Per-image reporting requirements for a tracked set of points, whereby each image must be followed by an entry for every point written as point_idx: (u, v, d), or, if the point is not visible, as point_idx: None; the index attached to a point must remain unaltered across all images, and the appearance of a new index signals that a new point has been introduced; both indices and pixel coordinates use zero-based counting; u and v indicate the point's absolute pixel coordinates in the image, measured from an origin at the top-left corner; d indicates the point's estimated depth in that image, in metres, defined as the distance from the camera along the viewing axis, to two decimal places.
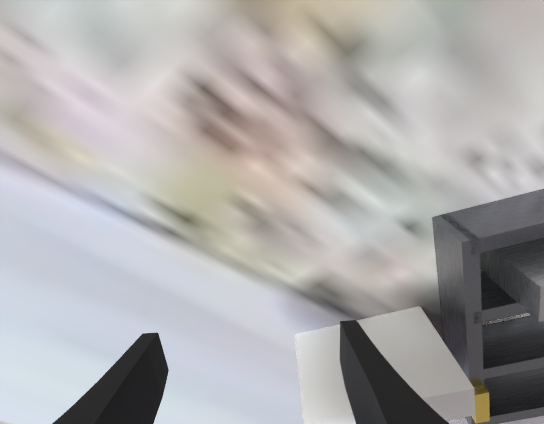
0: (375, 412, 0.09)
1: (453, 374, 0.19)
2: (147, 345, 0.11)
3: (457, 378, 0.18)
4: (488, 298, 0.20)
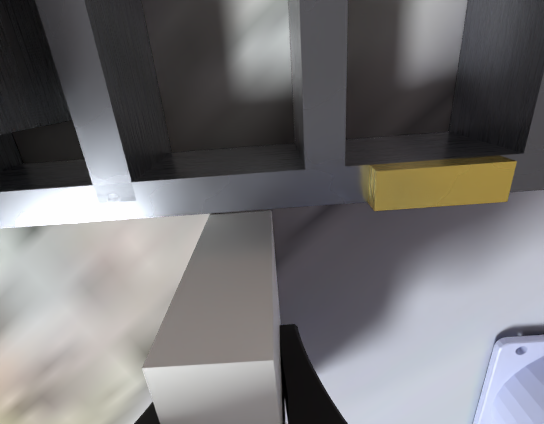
0: None
1: None
2: None
3: None
4: None
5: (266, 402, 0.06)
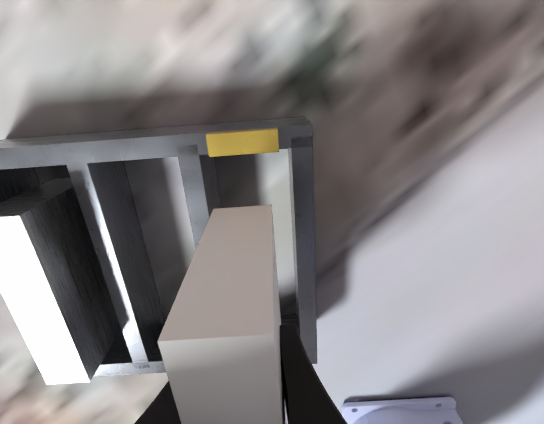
0: None
1: None
2: None
3: None
4: None
5: (267, 373, 0.07)
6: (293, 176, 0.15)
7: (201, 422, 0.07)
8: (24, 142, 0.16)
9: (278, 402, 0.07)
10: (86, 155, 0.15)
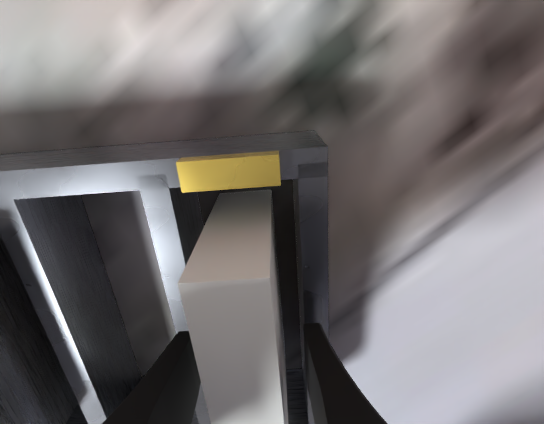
0: (323, 415, 0.09)
1: None
2: (186, 343, 0.11)
3: None
4: None
5: (265, 312, 0.08)
6: (300, 215, 0.11)
7: (211, 357, 0.09)
8: None
9: (274, 339, 0.09)
10: (11, 189, 0.11)
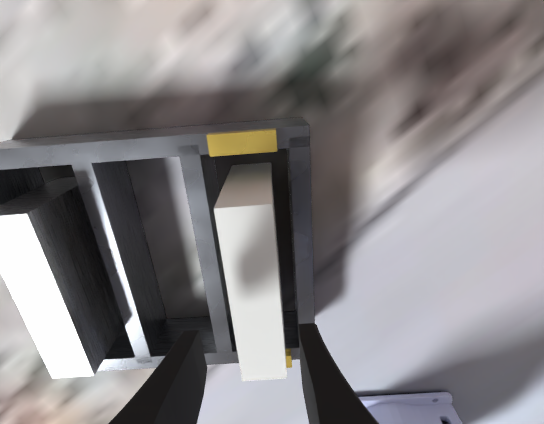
0: (316, 415, 0.09)
1: None
2: (191, 342, 0.11)
3: None
4: None
5: (269, 228, 0.13)
6: (291, 175, 0.16)
7: (233, 262, 0.14)
8: (30, 142, 0.16)
9: (275, 248, 0.14)
10: (90, 155, 0.15)
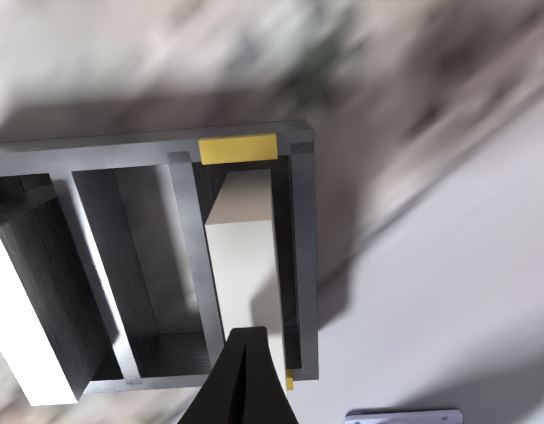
0: None
1: None
2: (244, 339, 0.11)
3: None
4: None
5: (267, 247, 0.12)
6: (293, 184, 0.14)
7: (228, 284, 0.12)
8: (4, 148, 0.15)
9: (274, 268, 0.12)
10: (70, 163, 0.14)
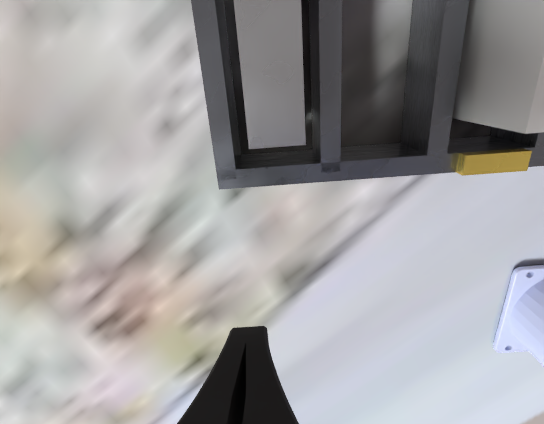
0: None
1: None
2: (244, 339, 0.11)
3: None
4: (318, 141, 0.16)
5: None
6: None
7: None
8: None
9: None
10: None
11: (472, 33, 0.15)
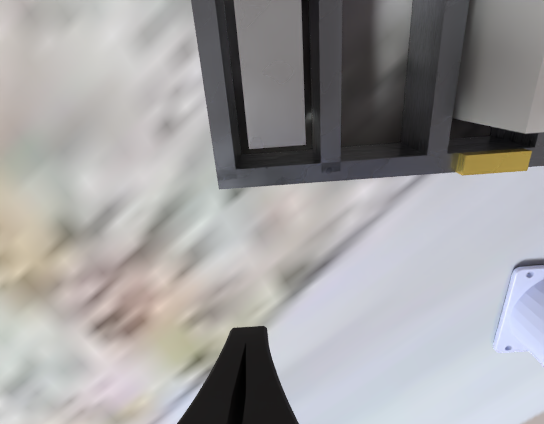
0: None
1: None
2: (244, 339, 0.11)
3: None
4: (318, 141, 0.16)
5: None
6: None
7: None
8: None
9: None
10: None
11: (472, 33, 0.15)
